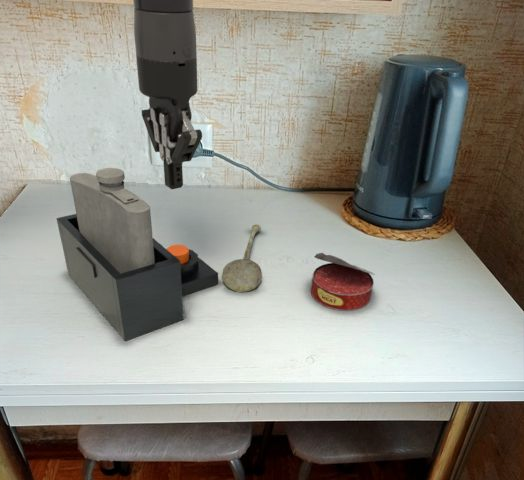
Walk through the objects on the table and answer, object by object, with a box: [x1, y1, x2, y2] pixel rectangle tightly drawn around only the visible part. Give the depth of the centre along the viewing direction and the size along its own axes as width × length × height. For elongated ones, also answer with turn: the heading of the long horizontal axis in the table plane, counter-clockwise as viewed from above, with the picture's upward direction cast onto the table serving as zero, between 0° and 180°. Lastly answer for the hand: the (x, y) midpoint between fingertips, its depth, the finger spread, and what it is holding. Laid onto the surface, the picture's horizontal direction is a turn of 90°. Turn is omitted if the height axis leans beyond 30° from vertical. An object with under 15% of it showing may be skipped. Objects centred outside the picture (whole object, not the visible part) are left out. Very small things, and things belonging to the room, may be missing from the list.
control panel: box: [180, 248, 219, 297], centre depth 83 cm, size 9×10×4 cm
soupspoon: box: [221, 223, 263, 293], centre depth 90 cm, size 22×3×7 cm
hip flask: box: [69, 167, 155, 274], centre depth 73 cm, size 16×4×20 cm, turn 47°
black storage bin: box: [56, 213, 184, 342], centre depth 76 cm, size 10×21×10 cm, turn 37°
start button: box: [166, 244, 189, 264], centre depth 82 cm, size 4×4×2 cm
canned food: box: [310, 252, 376, 312], centre depth 82 cm, size 11×10×10 cm
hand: (174, 186), depth 75 cm, fingers closed
